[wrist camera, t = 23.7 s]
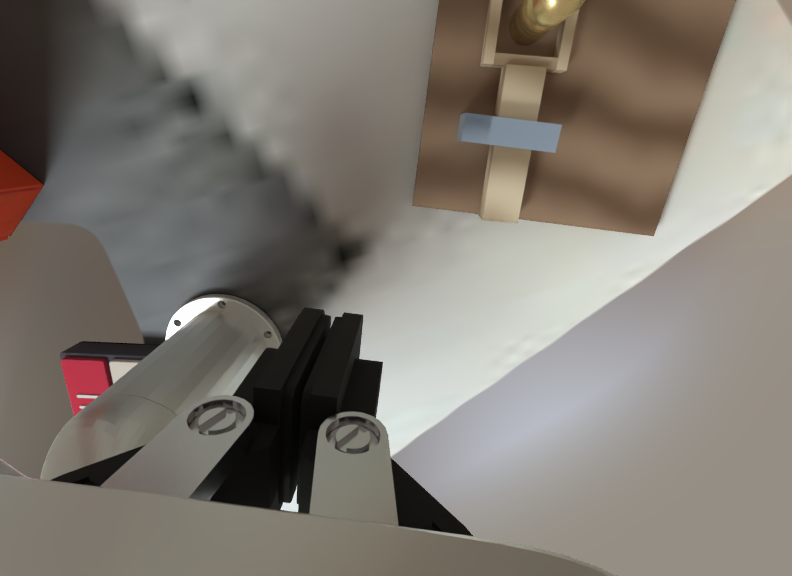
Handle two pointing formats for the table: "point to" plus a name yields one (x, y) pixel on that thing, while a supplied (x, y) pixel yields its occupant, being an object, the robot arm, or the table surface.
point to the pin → (539, 18)
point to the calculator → (98, 368)
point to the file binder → (14, 194)
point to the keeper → (508, 132)
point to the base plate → (576, 109)
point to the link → (516, 112)
